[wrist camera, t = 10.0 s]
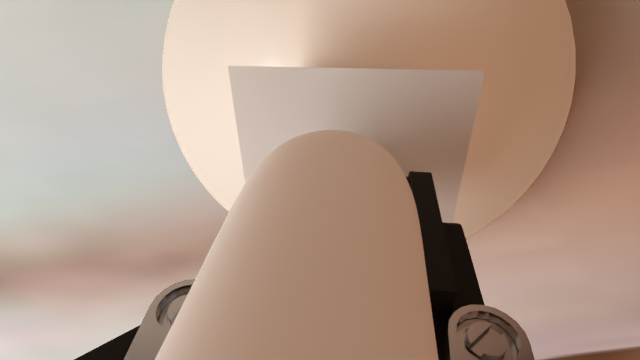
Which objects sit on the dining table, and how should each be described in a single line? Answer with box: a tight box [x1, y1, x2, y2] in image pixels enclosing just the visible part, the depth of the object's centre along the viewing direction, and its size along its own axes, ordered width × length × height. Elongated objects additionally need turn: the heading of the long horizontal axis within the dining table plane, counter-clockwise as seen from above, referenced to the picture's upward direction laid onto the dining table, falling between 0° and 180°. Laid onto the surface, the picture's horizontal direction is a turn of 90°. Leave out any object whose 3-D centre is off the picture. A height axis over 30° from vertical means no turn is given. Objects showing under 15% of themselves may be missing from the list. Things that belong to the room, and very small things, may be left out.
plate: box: [162, 0, 576, 238], centre depth 16 cm, size 16×16×2 cm
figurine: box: [155, 66, 485, 360], centre depth 10 cm, size 7×9×15 cm
